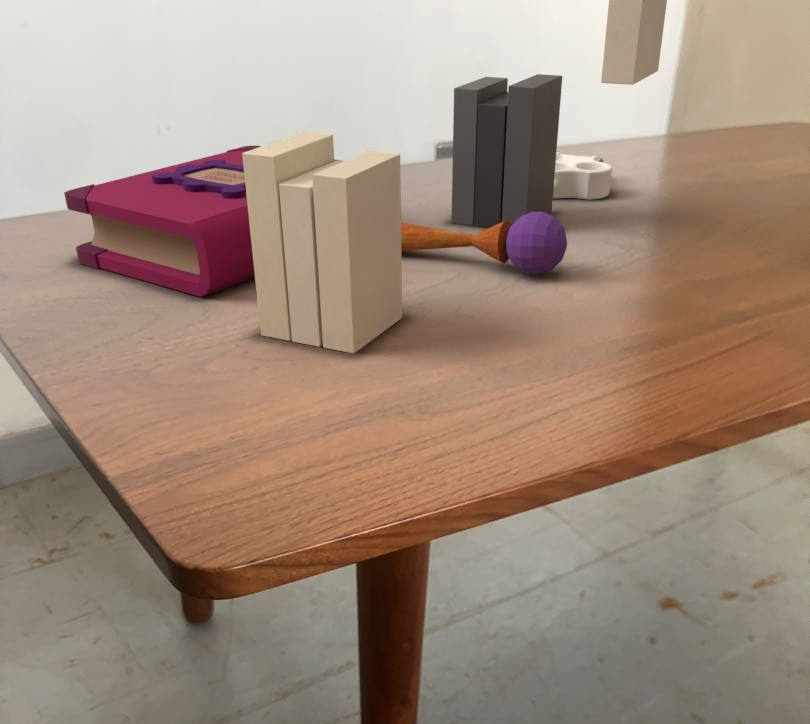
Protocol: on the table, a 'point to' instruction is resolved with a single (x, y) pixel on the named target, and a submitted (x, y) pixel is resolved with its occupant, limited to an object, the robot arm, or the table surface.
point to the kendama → (500, 241)
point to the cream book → (632, 40)
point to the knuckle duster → (581, 177)
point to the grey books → (504, 149)
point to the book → (172, 224)
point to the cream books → (324, 241)
